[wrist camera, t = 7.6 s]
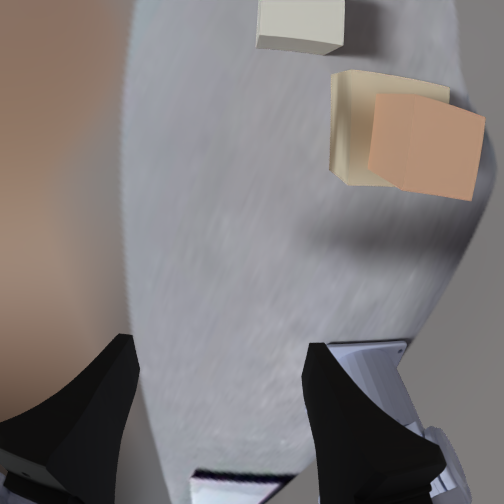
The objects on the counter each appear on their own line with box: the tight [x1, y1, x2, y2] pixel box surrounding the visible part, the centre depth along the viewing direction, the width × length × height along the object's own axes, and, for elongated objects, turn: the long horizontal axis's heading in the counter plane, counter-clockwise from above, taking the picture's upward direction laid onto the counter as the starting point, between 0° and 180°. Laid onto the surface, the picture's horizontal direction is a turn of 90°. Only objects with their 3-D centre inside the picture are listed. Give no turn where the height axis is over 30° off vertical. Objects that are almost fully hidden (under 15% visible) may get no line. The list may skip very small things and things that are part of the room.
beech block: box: [329, 70, 450, 187], centre depth 16 cm, size 6×6×4 cm
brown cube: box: [368, 94, 486, 201], centre depth 13 cm, size 4×4×4 cm
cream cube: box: [256, 0, 345, 56], centre depth 13 cm, size 4×4×4 cm
